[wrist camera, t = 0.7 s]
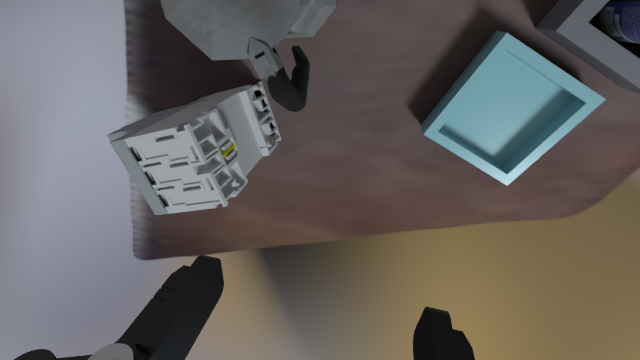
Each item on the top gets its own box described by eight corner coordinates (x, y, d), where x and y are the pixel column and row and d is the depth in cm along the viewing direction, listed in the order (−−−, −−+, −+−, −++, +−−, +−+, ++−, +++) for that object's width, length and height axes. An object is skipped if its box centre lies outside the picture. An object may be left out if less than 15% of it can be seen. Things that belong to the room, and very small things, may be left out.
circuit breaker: (165, 106, 39) (58, 154, 26) (261, 81, 35) (188, 124, 22) (191, 156, 42) (107, 221, 30) (281, 139, 38) (228, 206, 25)
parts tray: (496, 30, 28) (507, 32, 25) (586, 91, 29) (605, 99, 26) (420, 124, 34) (423, 134, 31) (498, 172, 35) (507, 185, 32)
